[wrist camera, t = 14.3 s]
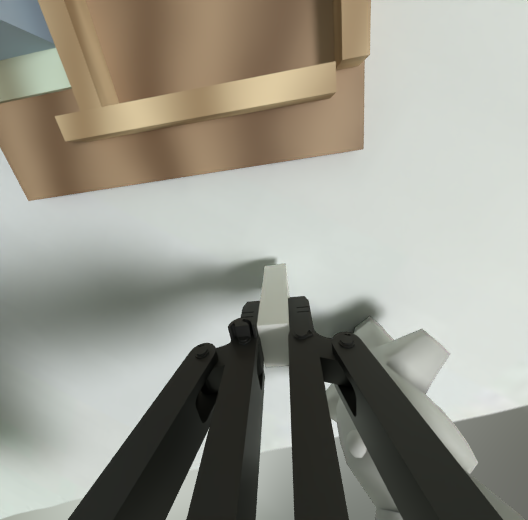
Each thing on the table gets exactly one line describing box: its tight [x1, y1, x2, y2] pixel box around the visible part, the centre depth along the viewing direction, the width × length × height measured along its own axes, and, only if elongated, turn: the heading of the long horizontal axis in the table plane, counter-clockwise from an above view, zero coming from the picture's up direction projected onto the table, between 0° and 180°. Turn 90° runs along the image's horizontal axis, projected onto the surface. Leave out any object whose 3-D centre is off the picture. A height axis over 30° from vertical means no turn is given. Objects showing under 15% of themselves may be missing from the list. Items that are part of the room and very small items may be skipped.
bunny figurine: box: [326, 316, 526, 520], centre depth 15 cm, size 10×5×15 cm, turn 141°
